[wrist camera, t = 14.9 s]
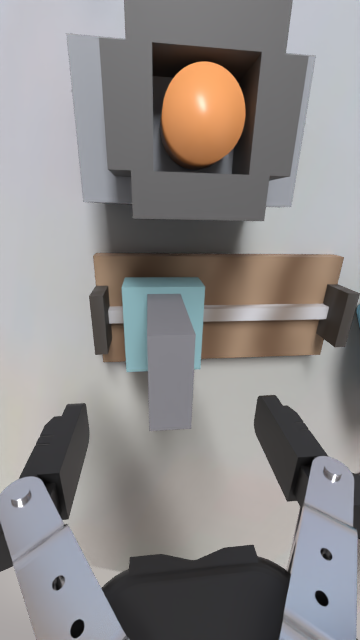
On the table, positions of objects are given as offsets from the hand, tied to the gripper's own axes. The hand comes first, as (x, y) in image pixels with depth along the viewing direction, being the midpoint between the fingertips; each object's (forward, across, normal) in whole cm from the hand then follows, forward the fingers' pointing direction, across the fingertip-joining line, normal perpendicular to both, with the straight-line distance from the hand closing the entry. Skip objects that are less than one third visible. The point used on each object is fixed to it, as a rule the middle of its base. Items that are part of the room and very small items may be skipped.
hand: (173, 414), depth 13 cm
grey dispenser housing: (+15, -1, -13) cm, 19 cm away
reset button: (+6, -1, -13) cm, 14 cm away
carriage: (+12, 0, 0) cm, 12 cm away
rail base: (+15, -5, 0) cm, 16 cm away
